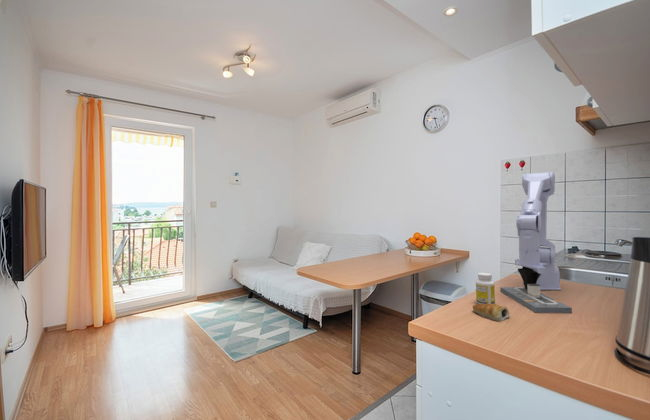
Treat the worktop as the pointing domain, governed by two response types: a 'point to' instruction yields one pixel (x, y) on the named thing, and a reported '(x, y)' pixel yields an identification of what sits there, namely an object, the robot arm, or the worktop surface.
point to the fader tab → (534, 290)
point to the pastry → (491, 311)
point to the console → (535, 301)
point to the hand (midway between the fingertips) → (529, 290)
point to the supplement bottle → (485, 289)
